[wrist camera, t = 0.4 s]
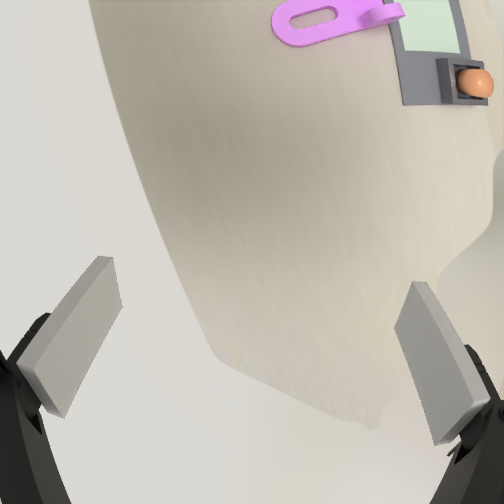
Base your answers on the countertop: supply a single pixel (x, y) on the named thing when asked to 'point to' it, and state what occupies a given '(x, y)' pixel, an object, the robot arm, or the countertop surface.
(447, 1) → the grey flat plate
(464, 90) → the button
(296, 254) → the countertop surface
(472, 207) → the countertop surface
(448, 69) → the button housing
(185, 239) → the countertop surface
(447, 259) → the countertop surface
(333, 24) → the bracket
